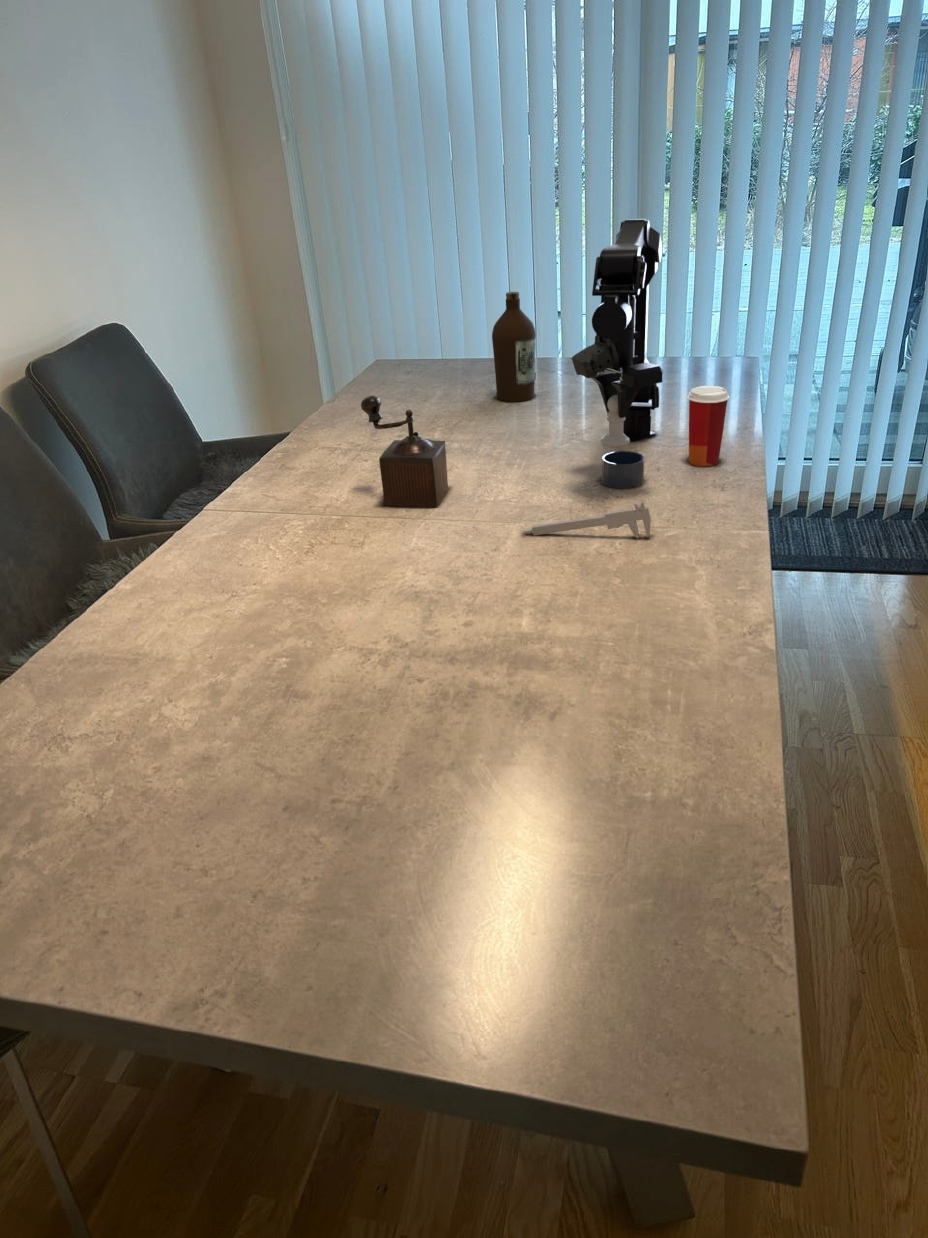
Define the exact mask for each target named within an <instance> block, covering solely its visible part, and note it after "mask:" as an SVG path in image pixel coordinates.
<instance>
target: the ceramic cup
mask: <svg viewBox="0 0 928 1238" xmlns="http://www.w3.org/2000/svg"><path fill="white" fill-rule="evenodd" d="M645 458H646V457H645V456H644V455H643V454H642V453H639V452H637V451H630V450H619V451H611V452H607V453H605V454H603V456H601V477H600V479H601V480H600V481H601V483H602V484H603V485H604V486H606V487H609V488H614V489H631V488H636V487H639V486H641V485H642V484H643V483H644V478H645Z"/></svg>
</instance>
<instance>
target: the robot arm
mask: <svg viewBox="0 0 928 1238" xmlns="http://www.w3.org/2000/svg"><path fill="white" fill-rule="evenodd" d="M619 226H620V227H619V231H618V233H617V234H616V235H615V241H614V244H612V245H609V246H605V247H604V248H603V249H602V250H601V251H600V253H599V256H597V257H596V259H595V267H594V275H593V282H592V292H591V296H592V297H600V304H599V305H598V306H597V307H596V309H595V310H594V312H593V314H592V316H591V326H592V330H593V331H594V332H595V336H594V343H593V344H591V345H588V346H586V347H585V348H583V349H581V350H579V352H577V353H576V354H574V355H572V357H571V361H572V365H573V368H574V371H575V373H576V375H577V376H583V377H584V378H587V379H591V380H593V381H594V382H595V383H596V384H597V387H598V388H599V392H600V394H601V397H602V401H603V405H604V407H605V411H606V414H607V413H608V412H609V409H608V406H607V403H608V400H609V398H610V397H612V396H614V395H618V412H619V418H624V417H625V421H624V423H623V433H624V434H625V435H626V436H627V437H628V438H629V439H630V442H631V441H637V440H641V439H645V438H649V437H653V436H656V431H655V432H654V431H652V430H651V428H652V415H651V414H652V412H651V411H655V409H658V408H660V387H659V386H658V384H661V383H663V382H664V369H663V368H662V367H661V366H660V365H657V364H654V363H650V361H649V360H648V358H647V353H648V326H649V325H648V323H649V322H648V321H649V317H648V316H649V292H650V283H651V282H652V280H653V278H654V277H655V274H656V272H657V271H658V266H659V264H661V261H662V255H663V253H662V252H663V245H662V244H663V243H662V237H661V236H662V235H661V233H660V232H659V231H657V230H656V229H654V228H653V227H652V226H651V224H650V220H649V219H646V218H631V219H627V218H626V219H625V220H622V221H620V225H619Z"/></svg>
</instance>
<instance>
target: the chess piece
mask: <svg viewBox="0 0 928 1238" xmlns="http://www.w3.org/2000/svg"><path fill="white" fill-rule="evenodd" d="M607 406H608V409H609V412H608V413H607V412H606V416H607V418H606V421H607V422H608V432H607V434H605V435H604V436H602V437H601V438H600V444H601V445H602V446H604V447H607V448H623V447H626V446H628V445H630V443H631V440H630V439H629V438H628V437H627V436H626V435H625V434H624V433H623V423H624V421H625V417H624V418H619V412H618V395H614V396H612V397H610V398H609V400H608V403H607Z"/></svg>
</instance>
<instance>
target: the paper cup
mask: <svg viewBox="0 0 928 1238" xmlns="http://www.w3.org/2000/svg"><path fill="white" fill-rule="evenodd" d="M686 399H687V400H688V463H689V464H691V465H693V466H695V467H696V466H698V467H711V466H716V465H717V464H718V463H719V460H720V454H721V449H722V440H723V434H724V430H725V429H724V427H725V421H726V413H727V407H728V400H729V399H730V395H729V392H728V390H727V389H726V388H725V387H723V386H719V385H718V386H717V385H701V386H695V387H693V388H691V390H690V391H689V392H688V395H687V396H686Z"/></svg>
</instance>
